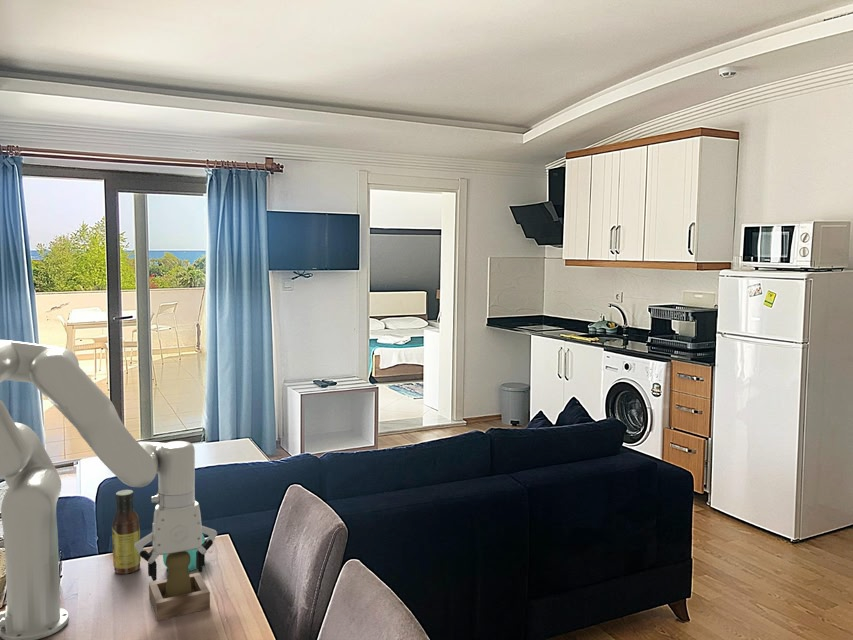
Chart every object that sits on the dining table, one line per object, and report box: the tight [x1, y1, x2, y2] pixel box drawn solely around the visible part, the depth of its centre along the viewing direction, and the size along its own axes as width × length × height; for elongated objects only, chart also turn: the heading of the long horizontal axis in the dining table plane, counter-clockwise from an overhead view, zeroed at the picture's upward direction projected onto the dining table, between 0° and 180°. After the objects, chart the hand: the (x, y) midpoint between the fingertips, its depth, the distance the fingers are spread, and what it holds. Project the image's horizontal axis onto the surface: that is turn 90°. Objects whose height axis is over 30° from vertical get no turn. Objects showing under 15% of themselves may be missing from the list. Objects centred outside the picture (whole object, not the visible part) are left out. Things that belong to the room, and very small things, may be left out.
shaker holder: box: [148, 572, 211, 622], centre depth 154 cm, size 11×11×4 cm
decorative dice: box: [162, 533, 206, 572], centre depth 174 cm, size 8×8×8 cm
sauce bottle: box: [111, 489, 142, 575], centre depth 171 cm, size 7×6×20 cm
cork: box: [165, 551, 192, 598], centre depth 154 cm, size 6×6×11 cm
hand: (176, 574), depth 154 cm, fingers open, 9 cm apart
